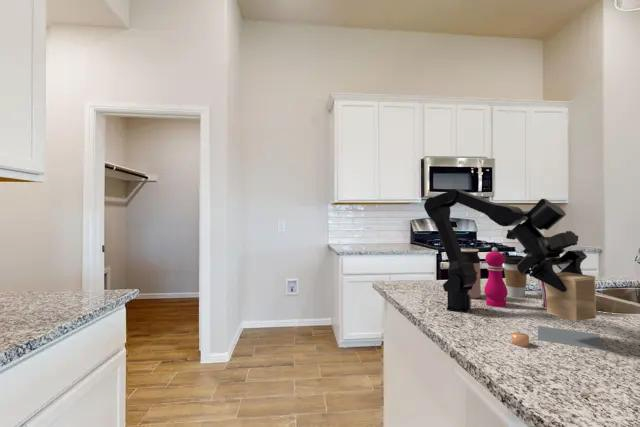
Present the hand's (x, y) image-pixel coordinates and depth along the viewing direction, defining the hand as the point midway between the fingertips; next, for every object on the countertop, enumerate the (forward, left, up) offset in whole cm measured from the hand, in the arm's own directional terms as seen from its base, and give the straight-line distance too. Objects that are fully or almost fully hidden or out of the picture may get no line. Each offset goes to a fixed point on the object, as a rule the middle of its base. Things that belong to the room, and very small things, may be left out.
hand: (576, 289), depth 82 cm
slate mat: (-2, +2, -13) cm, 13 cm away
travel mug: (-31, +36, -13) cm, 49 cm away
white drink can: (-5, +32, -13) cm, 35 cm away
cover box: (-1, +1, -7) cm, 7 cm away
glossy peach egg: (-12, -9, -13) cm, 19 cm away
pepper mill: (-21, +28, -13) cm, 37 cm away
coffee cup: (-16, +46, -13) cm, 51 cm away
